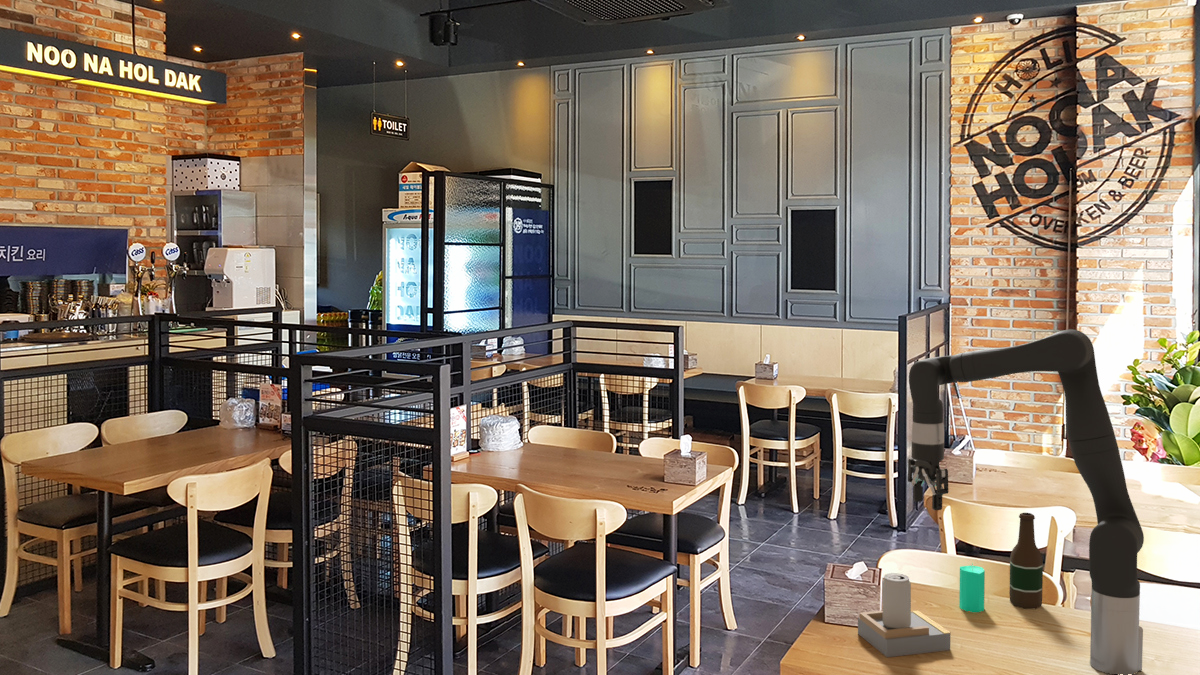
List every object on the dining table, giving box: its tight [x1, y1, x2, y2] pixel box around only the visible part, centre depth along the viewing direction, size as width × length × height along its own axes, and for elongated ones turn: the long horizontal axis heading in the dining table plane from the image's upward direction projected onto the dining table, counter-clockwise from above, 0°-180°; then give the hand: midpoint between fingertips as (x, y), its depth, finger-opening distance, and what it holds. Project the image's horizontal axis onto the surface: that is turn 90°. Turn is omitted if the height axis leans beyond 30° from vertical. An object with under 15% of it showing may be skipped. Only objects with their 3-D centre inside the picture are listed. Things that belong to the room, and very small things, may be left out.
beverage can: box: [881, 572, 912, 629], centre depth 218 cm, size 6×6×12 cm
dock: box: [857, 610, 951, 658], centre depth 220 cm, size 16×14×6 cm
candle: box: [958, 562, 986, 613], centre depth 240 cm, size 6×6×12 cm
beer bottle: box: [1009, 512, 1044, 610], centre depth 241 cm, size 8×8×24 cm
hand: (927, 505), depth 227 cm, fingers open, 8 cm apart
